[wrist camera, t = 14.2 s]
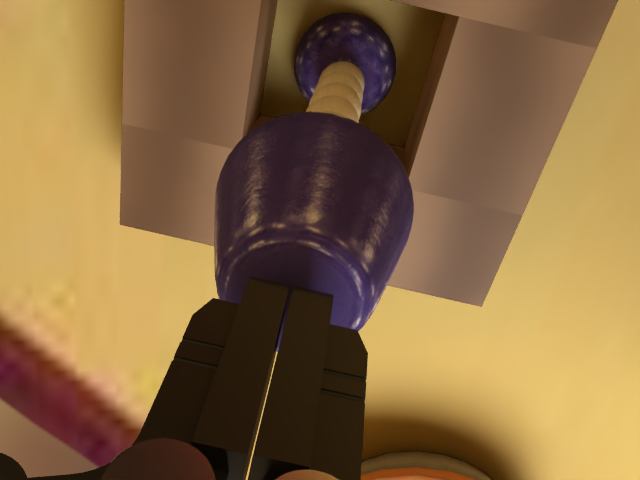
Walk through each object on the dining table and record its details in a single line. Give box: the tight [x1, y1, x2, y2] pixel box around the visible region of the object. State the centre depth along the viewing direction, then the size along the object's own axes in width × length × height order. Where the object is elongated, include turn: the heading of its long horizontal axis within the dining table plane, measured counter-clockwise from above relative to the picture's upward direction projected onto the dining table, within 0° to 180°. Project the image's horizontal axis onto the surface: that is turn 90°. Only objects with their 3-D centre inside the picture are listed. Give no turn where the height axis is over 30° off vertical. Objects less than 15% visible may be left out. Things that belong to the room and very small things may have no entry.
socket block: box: [120, 0, 618, 307], centre depth 23 cm, size 16×16×4 cm
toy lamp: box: [214, 13, 414, 351], centre depth 18 cm, size 5×5×17 cm
